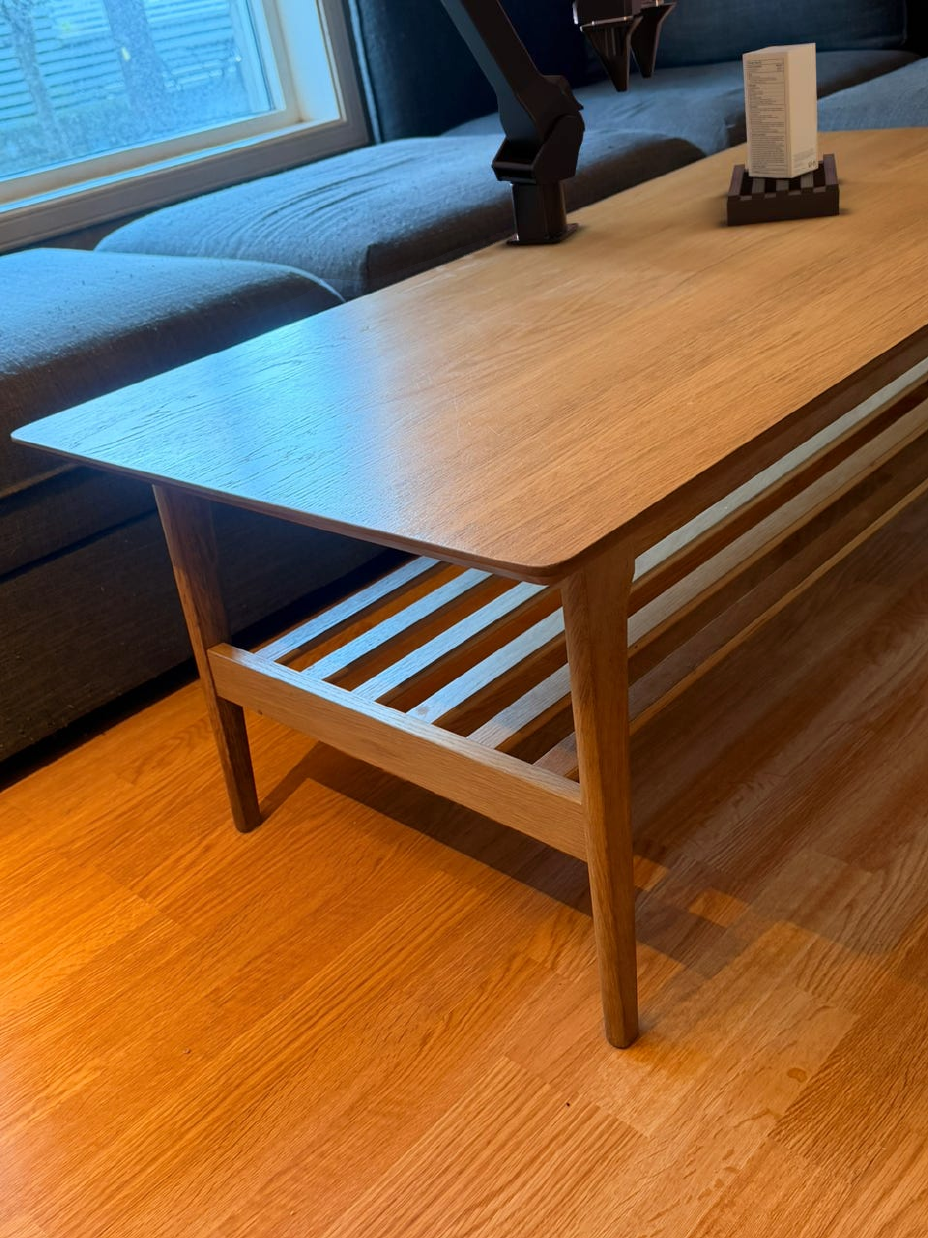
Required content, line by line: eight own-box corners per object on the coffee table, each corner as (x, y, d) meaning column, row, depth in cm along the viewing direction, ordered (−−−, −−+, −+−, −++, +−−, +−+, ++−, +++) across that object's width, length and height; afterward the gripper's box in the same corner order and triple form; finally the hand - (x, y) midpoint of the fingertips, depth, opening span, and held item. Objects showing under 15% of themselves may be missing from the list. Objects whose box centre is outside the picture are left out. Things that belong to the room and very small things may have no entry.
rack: (839, 214, 113) (839, 183, 112) (727, 225, 116) (726, 195, 115) (834, 181, 126) (835, 152, 125) (734, 192, 129) (733, 164, 128)
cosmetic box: (819, 169, 118) (819, 41, 112) (790, 179, 117) (789, 50, 110) (773, 167, 123) (771, 44, 117) (744, 176, 121) (741, 52, 115)
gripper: (674, -90, 106) (684, 90, 114) (722, -99, 120) (728, 62, 128) (563, -70, 111) (580, 102, 119) (622, -80, 125) (633, 74, 133)
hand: (635, 84), depth 124 cm, fingers open, 9 cm apart
